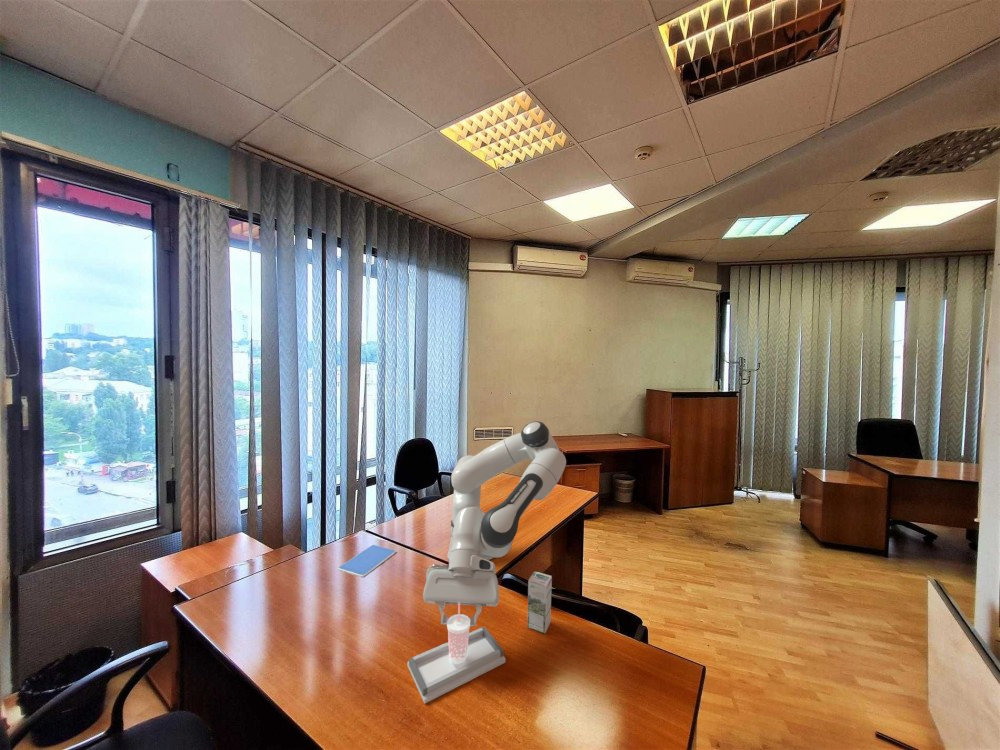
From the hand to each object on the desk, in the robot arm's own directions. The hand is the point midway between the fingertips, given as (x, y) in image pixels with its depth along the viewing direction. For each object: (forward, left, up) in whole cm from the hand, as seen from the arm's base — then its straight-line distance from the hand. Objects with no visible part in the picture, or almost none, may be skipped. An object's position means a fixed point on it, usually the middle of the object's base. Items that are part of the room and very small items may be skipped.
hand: (458, 624), depth 91 cm
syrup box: (-27, -1, -11) cm, 29 cm away
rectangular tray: (0, -1, -11) cm, 11 cm away
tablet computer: (+8, -62, -11) cm, 64 cm away
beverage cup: (0, 0, -9) cm, 9 cm away
